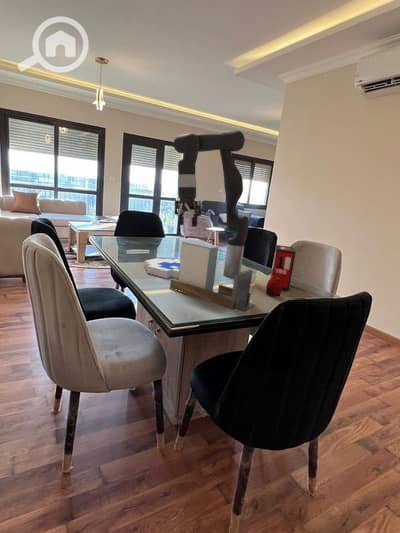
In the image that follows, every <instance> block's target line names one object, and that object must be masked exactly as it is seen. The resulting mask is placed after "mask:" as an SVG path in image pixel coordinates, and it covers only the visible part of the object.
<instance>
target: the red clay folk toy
mask: <svg viewBox="0 0 400 533" xmlns="http://www.w3.org/2000/svg"><path fill="white" fill-rule="evenodd" d="M275 266H276V265H274V267H273V268H274V272H273V273H274V276H272V277H271V276H270V277H271V278H270V277H269V279H268V282H267V283H266V285H265V286H266V288H265V294H266V295H268V296H269V297H270V296H271V297H274V298H280V297H281V293H282V283H281V280H280V279H279V278H277V277H276V276H275V269H276V270H277V268H275Z"/></svg>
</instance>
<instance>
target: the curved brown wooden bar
mask: <svg viewBox="0 0 400 533" xmlns="http://www.w3.org/2000/svg"><path fill="white" fill-rule="evenodd" d="M171 288H173V289H172V290H174V289H177V290H180V291H183V292H186V293H185V294H187V293H189V294H188V295H190V294H191V295H190V296H193V295H194V296H193V297H196V296H197V297H196V298H199V299H203V300H206V301H209V302H212V303H215V304H217V305H221V306H224V307H227V308H230V305H231V298H232V290H233V287H229V286H226V285H224V284H219V285H218V288H217V289H218V290H217V292H216V291H214V290H213V291H210V290H206V289H203V288H200V287H196V286H193V285H190V284H187V283H183V282H180V281H178V280H177V279H173V278H171V279H170V285H169V289H171ZM177 290H176V291H177ZM180 291H179V292H180ZM183 292H182V293H183ZM251 294H252V293H251V292H249V295H248V301H247V302H249V303H251V302H250V300H251ZM237 304H238V299H236V302H235V309H234V310H237V309H236V308H237Z"/></svg>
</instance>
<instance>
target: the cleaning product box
mask: <svg viewBox="0 0 400 533" xmlns="http://www.w3.org/2000/svg"><path fill="white" fill-rule="evenodd" d="M296 253H297V252H296V250H295V248H294V247H293V246H289V245H288V246H286V245H279V244H275V248H274V254H273V260H272V267H271V270H270V271H271V272H270V277H269V279H270V278H271V277H272V276H274V273H273V272H274V268H273V267H274V265H276V266H275V268H277V270H276V269H275V276H276V277H277V278H279V279H280V280H281V283H282V290H281V292H288V291H290V287H291V286H290V285H291V279H292V274H293V270H294V263H295V257H296Z"/></svg>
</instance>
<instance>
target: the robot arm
mask: <svg viewBox="0 0 400 533" xmlns="http://www.w3.org/2000/svg"><path fill="white" fill-rule="evenodd" d="M244 145H245V135H244V133H243V132H242V131H241V130H236V129H234V130H233V129H232V130H229V129H228V130H222V131H221V132H220V133H198V134H195V133H194V132H193V133H184V134H179V135H177V136H176V137H175V138H174V140H173V148H174V150H175V151H176V152H177V153H178V154H184V157H183V158H182V159H180V160H178V163H177V168H178V169H177V170H178V171H177V172H178V173H177V174H178V175H177V176H178V177H177V197H178V198H179V199H178V200H174V215H176V216H177V218H178V219H177V221H178V226H184V223H185V222H184V215H185V213H186V212H188V213H189V214H190V216H191V226H192V227H194V228H195V227H197V226H198V217H200V216H202V205H201V204H202V202H201V201H200V200H195V199H196V198H197V177H196V165H197V164H196V163H197V159H198V155H199V153H203V152H211V151H219V153H220V154H219V155H220V158H221V160H220V161H221V165H222V171H223V185H224V193H225V202H226V203H225V205H226V207H225V208H226V212H225V214H226V217H225V218H226V228H227V229H228V230H229V231H230V232H232V233H233V232H234V233H236V235H235V236H234V237H229V238H228V239H227V244H226V250H225V251H226V252H225V257H224V265H223V276H225V277H228V278H234V276H235V274H237V273H240V272H242V263H243V259H244V258H243V257H244V250H245V243H246V241H247V237H248V230H249V224H250V219H249V218H248V216H246V215H241V214H237V205H238V202H239V200H241V196H243V193H244V192H243V191H244V182H243V181H244V180H243V175H242V173H241V172H240V170H239V168H238V167H237V165H236V163H235V161H234V159H233V153H232V152H239V151H241V150H242V149H243V147H244Z"/></svg>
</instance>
